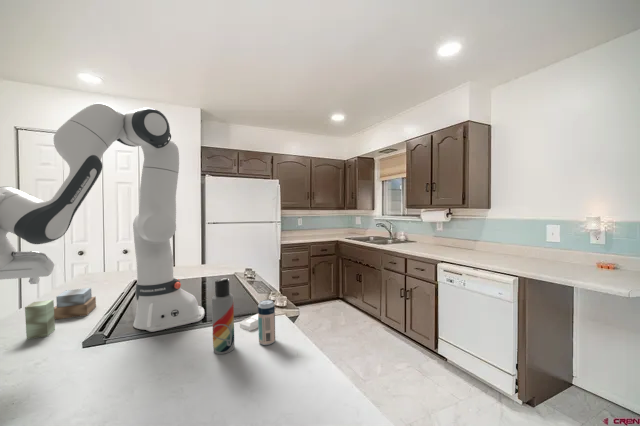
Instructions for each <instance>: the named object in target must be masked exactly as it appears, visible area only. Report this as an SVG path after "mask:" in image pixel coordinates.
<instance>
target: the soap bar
mask: <svg viewBox="0 0 640 426" xmlns="http://www.w3.org/2000/svg"><path fill="white" fill-rule="evenodd" d="M239 328H240V329H243V330H246V331H249V332H252V331H253V330H255V329H257V328H258V313H256V314H254V315H251V316H248V317H247V318H245V319H243V320H241V321H240V322H239Z"/></svg>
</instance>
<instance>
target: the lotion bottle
mask: <svg viewBox="0 0 640 426" xmlns="http://www.w3.org/2000/svg"><path fill="white" fill-rule="evenodd" d="M230 285H231V284H230V279H229V278H222V279H219V280H214V295H213V296H212V297H211V317H212V321H211V322H212V347H213V348H212V349H213V353H215V354H217V355H223V354H225V355H226V354H228V353H230V352H232V351H233V350H234V349H235V317H234V316H235V313H234V309H235V308H234V295H233V294H232V293H231V291H230V290H231V289H230Z"/></svg>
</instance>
